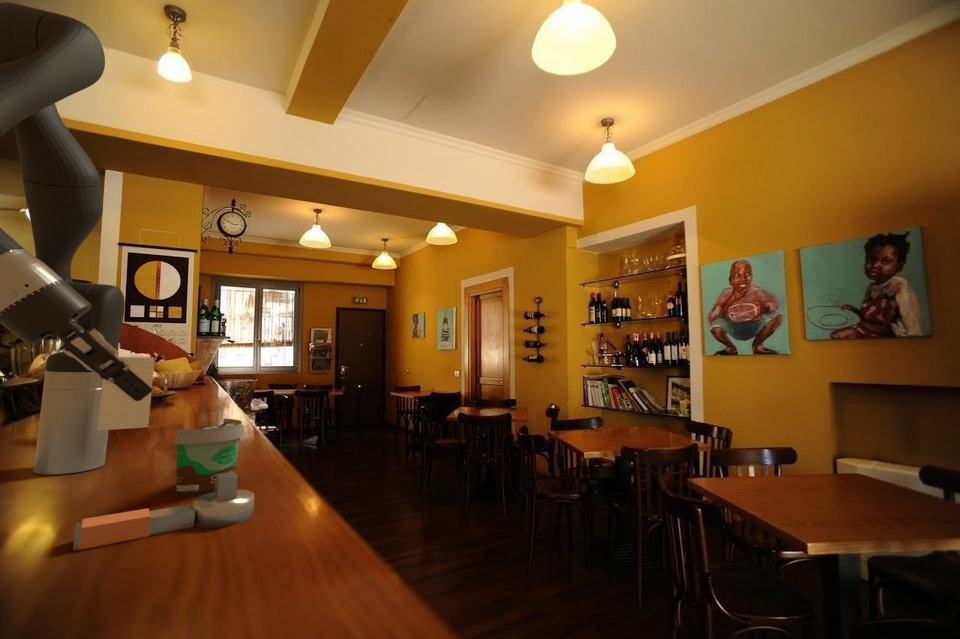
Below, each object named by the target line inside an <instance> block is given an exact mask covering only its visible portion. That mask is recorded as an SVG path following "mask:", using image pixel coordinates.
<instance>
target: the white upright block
mask: <svg viewBox="0 0 960 639" xmlns="http://www.w3.org/2000/svg"><path fill="white" fill-rule="evenodd" d="M118 359H119V360H120V361H123V362H124V363H125V364H127V365H128V366H129V367H128V368H130V370H131V371H132V372H133V373H134V374H135V375H137V376H138V377H139V378H140V379H141V380H142V381H144V382H145V383H146V384H147V385H148V386H150V387H151V389H152V391H151V393H149V394H148V395H147V396H146V397H144V398H143V399H142V400H140V401H135V400H134V399H132V398H131V397H130V396H129V395H127V394H126V393H125V392H124V391H123V390H121V389H120V388H119V387H118V386H116V385H115V384H114V383H113V382H114V381H113V382H112V383H111V382H109V381H106V380H105V379H103V383H102V393H101V402H100V412H99V422H98V431H99V430H108V431H110V430H111V431H112V430H114V431H115V430H123V429H124V430H126V429H129V430H130V429H141V428H149V423H150V422H149V421H150V411H151V401H152V392H153V380H154V370H155V361H156V360H155V358H154V357H152V356H150V357H149V356H119V357H118ZM112 363H115V362H113V361H112V360H109V361H108V362H106V363H105V364H104V369H105V368H106V367H108V366H109V365H111V364H112ZM128 371H129V370H128ZM128 371H127V372H128Z"/></svg>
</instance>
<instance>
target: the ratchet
mask: <svg viewBox="0 0 960 639" xmlns="http://www.w3.org/2000/svg"><path fill="white" fill-rule="evenodd" d="M238 480H239V475H238V474H237V472H236V471H235V472H228V473H221V474H216V479H215V491H214V492H212V493H208V494H205V495H199V496H198V497H197V498H195V499H194V500H193V503H190V504H189V503H188V504H184V505H178V506H172V507H171V506H170V507H165V508H160V509H155V510H150V509H149V507H148V508H142V509H136V510H135V509H134V510H129V511H124V512H119V513H118V512H117V513H112V514H105V515H99V516H94V517H92V516H91V517H87V518H83V519H82V522H81V521H80V522H77V523H76V525H75V530H74V536H73V546H72V551H76V550H79V551H80V550H86V549H90V548H95V547H101V546H106V545H111V544H115V543H116V544H117V543H120V542H126V541H132V540H136V539H142V538H146V537H149V536H154V535H159V534H163V533H169V532H173V531H179V530H185V529H189V528H194V527H198V528H203V529H204V528H205V529H206V528H207V529H208V528H209V529H210V528H212V529H213V528H224V527H229V526H233V525H237V524H240V523H243V522H245V521H248V520H249V519H251V518H252V517H253V516H254V511H255V510H254V509H255V508H254V506H255V496H256V494H255V493H254V492H253V491H250V490H247V489H238V483H239V482H238Z"/></svg>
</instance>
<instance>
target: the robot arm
mask: <svg viewBox="0 0 960 639" xmlns="http://www.w3.org/2000/svg"><path fill="white" fill-rule="evenodd" d="M105 67H106V56H105V51H104V47H103V44H102V43H101V41H100V39H99V37H98V35H97V33H96V32H94V30H93V29H92V28H91V26H88V25H87V24H86V23H84V22H82V21H80V20H79V19H77V18H74V17H70V16H68V15H64V14H61V13H57V12H52V11H48V10H44V9H40V8H37V7H33V6H32V7H31V6H28V5H22V4H18V3H14V2H8V1H4V2H0V138H1V137H2V136H4V135H5V134H6V133H7V132H9V131H10V130H11V129H12V128H14V133H15V137H16V143H17V149H18V154H19V160H20V168H21V177H22V184H23V190H24V195H25V196H24V197H25V201H26V202H25V203H26V205H27V206H26V207H27V210H28V214H29V220H30V225H31V231H32V232H31V233H32V237H33V238H32V239H33V242H34V243H33V244H34V251H35V255H33V254H32V253H31V252H29V251H28V250H26V248H24V247H23V246H22V245H21V244H19V242H17V241H16V240H15V239H14V238H13V237H12V236H10V235H9V234H8V233H7V232H6V231H5V230H4V229H2V227H0V324H1V325H2V326H3V327H4V328H6V329H7V330H8V331H9V332H11V333H12V335H15V336H16V337H17V338H18V339H19V340H21V341H22V342H23V343H25V344H27V345H35V344H38V343H39V342H41V341H43V340H45V339H46V338H49V337H51V336H52V335H55V337H57V339H59V341H61V342H62V343H63V345H62V346H60V347H59V350H60V351H59V352H55V353H52V354H50V355H49V356H48V357H47V359H46V362H45V368H44V369H45V373H44V379H43V387H42V388H43V390H42V397H41V406H40V413H39V414H40V415H39V421H38V422H39V423H38V429H37V430H38V431H37V440H36V447H35V455H34V462H33V463H34V464H33V473H34V474H37V475H45V476H46V475H63V474H74V473H80V472H85V471H90V470H94V469H98V468H101V467H103V466H104V465H105V464H106V453H107V446H108V445H107V444H108V439H109V438H108V437H109V436H108V435H109V430H99V431H98V422H99V412H100V402H101V393H102V383H103V379H105V380H106V381H109V382H111V383H112V382H113V381H114V382H113V383H114V384H115V385H116V386H118V387H119V388H120V389H121V390H123V391H124V392H125V393H126V394H127V395H129V396H130V397H131V398H132V399H134V400H135V401H140V400H142V399H143V398H144V397H146V396H147V395H148V394H149V393H151V394H152V392H153V388H152V389H151V387H150V386H148V385H147V384H146V383H145V382H144V381H142V380H141V379H140V378H139V377H138V376H137V375H135V374H134V373H133V372H132V371H131V370H130V368H128V367H129V366H128V365H127V364H125V363H124V362H123V361H120V360H119V359H118V357H120V356H119V355H120V354H119V346H120V338H121V333H122V327H123V322H124V316H125V306H126V303H125V296H124V294H123V293H124V292H123V290H121V288H119V286H116V285H111V284H104V283H100V284H99V283H88V282H78V281H77V282H74V281H73V279H72V274H71V273H72V271H71V270H72V262H73V258H74V256H75V254H76V253H77V251H78V250H79V248H80V247H81V245H82V244H83V242H84V241H85V240H86V239H87V238H88V237H89V235H90V234H91V233H92V231H93V230H94V229H95V228H96V226H97V224H98V223H99V221H100V220H101V218H102V215H103V213H104V212H103V211H104V210H103V198H102V189H101V180H100V175H99V172H98V170H97V168H96V166H95V164H94V163H93V161H92V159H91V158H90V157H89V155H88V154H87V152H86V151H85V150H84V149H83V147H82V146H81V145H80V144H79V142H78V140H77V139H76V138H75V136H74V135H73V134H72V133H71V131H70V130H69V129H68V127H67V126H66V124H65V123H64V121H63V119H62V117H61V115H60V113H59V111H58V108H57V105H56V103H58V102H60V101H62V100H64V99H67V98H68V97H70V96H72V95H74V94H76V93H79V92H81V91H84V90H85V89H88V88H90V87H91V86H93V85H95V84H96V83H97V82H98V81H99V80H100V79H101V78H102V76H103V74H104V71H105ZM109 360H112V361H113V362H115V363H112V364H111V365H109V366H108V367H106V368H105V369H104V364H105V363H106V362H108V361H109ZM128 370H129V371H128ZM127 371H128V372H127ZM151 391H152V392H151Z"/></svg>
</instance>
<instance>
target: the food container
mask: <svg viewBox="0 0 960 639" xmlns="http://www.w3.org/2000/svg"><path fill="white" fill-rule="evenodd" d="M245 435H246V432H245V426H244V425H243V421H242V420H240V419H234V418H223V423H221V424H219V425H218V424H217V425H214V426H213V425H212V426H211V425H207V426H202V427H200V428H197V429H177V434H175V438H174V442H173V444H174V445H176V482H175V483H176V486H175V487H176V488H175V497H182V498H183V497H184V498H185V497H196V496H198V497H199V496H202V495H205V494H208V493H212V492H214V491H215V479H216V474H221V473H228V472H235V473H236V471H235V470H236V464H237V460H238V452H239V446H240V441H241V438H242V437H244V436H245Z"/></svg>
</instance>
